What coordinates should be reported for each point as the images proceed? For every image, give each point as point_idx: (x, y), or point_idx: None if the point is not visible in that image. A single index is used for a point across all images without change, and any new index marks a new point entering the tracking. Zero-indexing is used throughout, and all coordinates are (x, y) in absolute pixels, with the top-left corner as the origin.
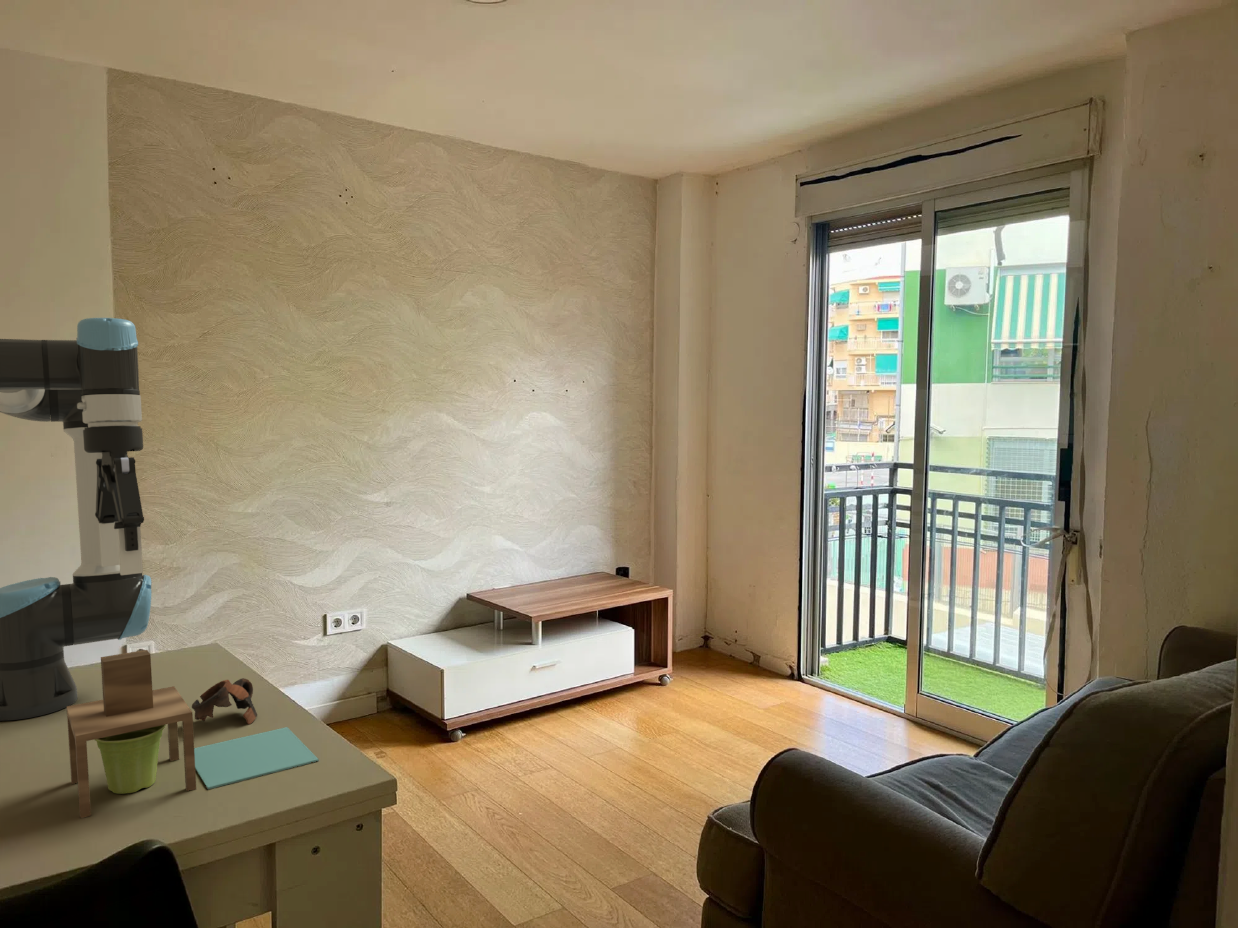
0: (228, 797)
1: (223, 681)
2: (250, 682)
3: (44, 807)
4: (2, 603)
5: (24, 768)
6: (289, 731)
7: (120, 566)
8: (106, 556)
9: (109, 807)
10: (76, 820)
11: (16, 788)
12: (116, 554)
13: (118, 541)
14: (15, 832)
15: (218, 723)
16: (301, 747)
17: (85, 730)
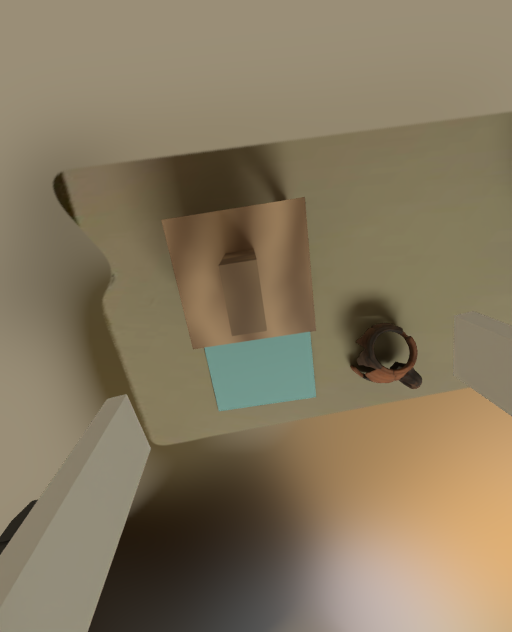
0: (173, 340)
1: (404, 368)
2: (412, 388)
3: (229, 181)
4: None
5: (360, 146)
6: (302, 397)
7: (100, 418)
8: (486, 346)
9: None
10: (181, 215)
11: (300, 145)
12: (488, 381)
13: (50, 518)
14: (178, 159)
15: None
16: (254, 402)
17: (179, 230)
